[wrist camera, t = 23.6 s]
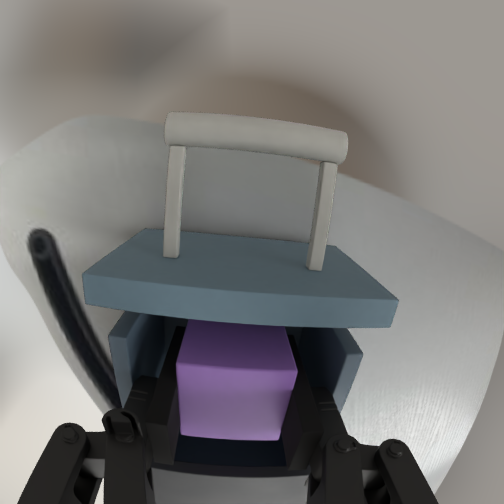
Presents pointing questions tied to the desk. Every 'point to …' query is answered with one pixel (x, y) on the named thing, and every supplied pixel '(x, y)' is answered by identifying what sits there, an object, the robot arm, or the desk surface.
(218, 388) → the cube
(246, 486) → the cabinet
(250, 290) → the drawer
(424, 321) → the desk surface
